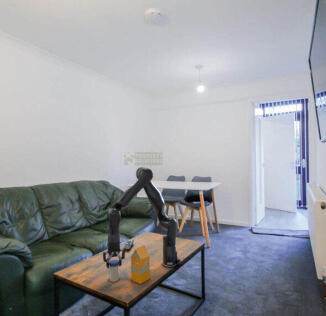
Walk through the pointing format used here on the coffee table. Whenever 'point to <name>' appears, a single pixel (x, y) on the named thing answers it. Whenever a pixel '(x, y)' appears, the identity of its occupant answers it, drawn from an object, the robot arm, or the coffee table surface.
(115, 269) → the jar
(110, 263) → the lid
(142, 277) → the orange juice
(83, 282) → the coffee table surface
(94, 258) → the coffee table surface
